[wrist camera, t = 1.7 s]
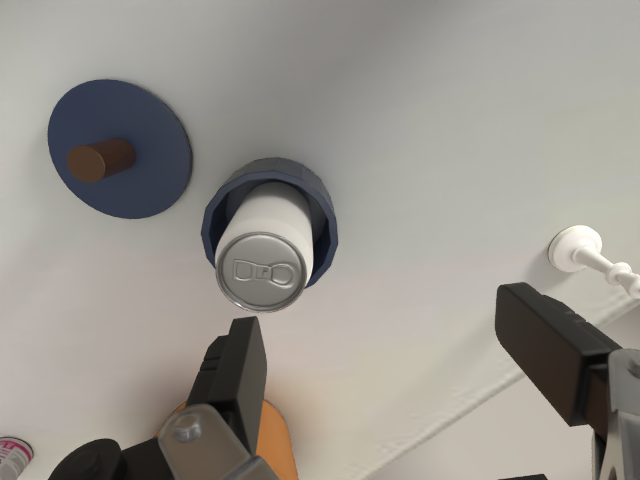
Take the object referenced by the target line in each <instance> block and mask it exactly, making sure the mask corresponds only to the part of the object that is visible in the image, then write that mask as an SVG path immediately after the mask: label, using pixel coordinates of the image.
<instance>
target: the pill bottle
mask: <svg viewBox="0 0 640 480" xmlns="http://www.w3.org/2000/svg"><path fill="white" fill-rule="evenodd" d="M31 459H32V451H31V449H30V447H29V446H28V445H27V444H26V443H24V442H22V441H20V440H18V439H14V438H2V439H0V480H16V479H17V478H18V477H19V475H20V474H21V473H22V472H23V470H24V469H25V468H26V466H27V465H28V464H29V462H30V461H31Z"/></svg>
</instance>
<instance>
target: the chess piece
mask: <svg viewBox="0 0 640 480" xmlns="http://www.w3.org/2000/svg"><path fill="white" fill-rule="evenodd" d="M601 247H602V242H601V238H600V236H599V235H598V234H597V233H596V232H595V231H594V230H592V229H591V228H589V227H587V226H573V227H570V228H567V229H565V230H564V231H562V232H561V233H559V234H558V235H557V236H556V237H555V239H554V240H553V241H552V243H551V245H550V248H549V252H548V256H549V260H550V262H551V264H552V265H553V266H554V267H555V268H557V269H559V270H561V271H564V272H578V271H581V270H583V269H585V268H587V267H591V268H593V269H596V270H598V271H600V272H602V273H604V274H605V281H606V282H607V283H608V284H611V285H622V286H623V287H624V289H625V290H626V292H627V293H628V294H629V295H630V296H631V297H633V298H636V299H640V275H638V274H634V273H632V271H631V268H630V267H629V265H627V264H626V263H616V264H614V265H613V264H612V263H611V262H609V261H608V260H606V259H605V258H604V257H602V256H601V255H600V251H601Z"/></svg>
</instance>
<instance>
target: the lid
mask: <svg viewBox="0 0 640 480" xmlns="http://www.w3.org/2000/svg"><path fill="white" fill-rule="evenodd" d="M48 146H49V151H50V155H51V158H52V161H53V164H54V166H55V168H56V170H57V172H58V174H59V175H60V177H61V179H62V180H63V181H64V183H65V184H66V185H67V187H68V188H69V189H70V190H71V191H72V192H73V193H74V194H75V195H76V196H77V197H78V198H79V199H81V200H82V201H83V202H85V203H86V204H87V205H89V206H91V207H92V208H94V209H96V210H98V211H100V212H102V213H105V214H108V215H111V216H114V217H119V218H126V219H141V218H146V217H150V216H154V215H156V214H159V213H161V212H163V211H164V210H166V209H167V208H169V207H170V206H171V205H173V204H174V203H175V202H176V201H177V200H178V199H179V197H180V196H181V195H182V193H183V191H184V190H185V188H186V186H187V183H188V181H189V177H190V173H191V152H190V146H189V143H188V139H187V136H186V134H185V132H184V129H183V127H182V126H181V124H180V122H179V121H178V119H177V118H176V116H175V115H174V114H173V112H172V111H171V110H170V109H169V108H168V107H167V106H166V105H165V104H164V103H163V102H162V101H161V100H160V99H158V98H157V97H156V96H154V95H153V94H151V93H150V92H148V91H147V90H145V89H143V88H141V87H139V86H136V85H133V84H131V83H127V82H123V81H118V80H108V79H106V80H94V81H89V82H86V83H83V84H80V85H78V86H76V87H74V88H72V89H71V90H70V91H68V92H67V93H66V94H65V95H64V96H63V97H62V98H61V99H60V100H59V101H58V103H57V105H56V106H55V108H54V110H53V112H52V115H51V117H50V121H49V125H48Z"/></svg>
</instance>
